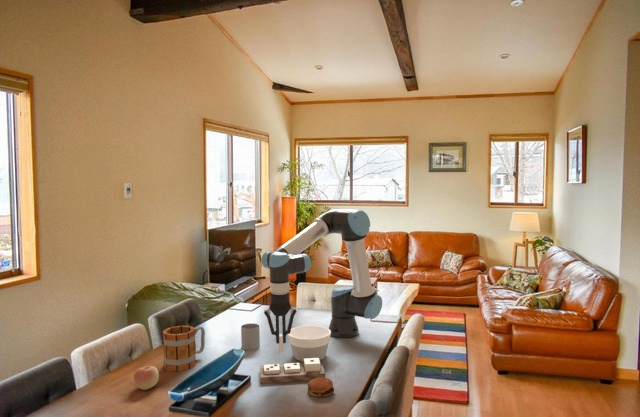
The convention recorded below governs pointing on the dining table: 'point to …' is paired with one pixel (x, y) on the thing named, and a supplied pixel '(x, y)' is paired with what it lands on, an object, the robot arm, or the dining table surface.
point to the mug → (181, 347)
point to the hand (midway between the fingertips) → (281, 351)
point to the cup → (250, 336)
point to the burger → (320, 387)
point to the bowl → (309, 342)
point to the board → (291, 375)
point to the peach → (146, 377)
